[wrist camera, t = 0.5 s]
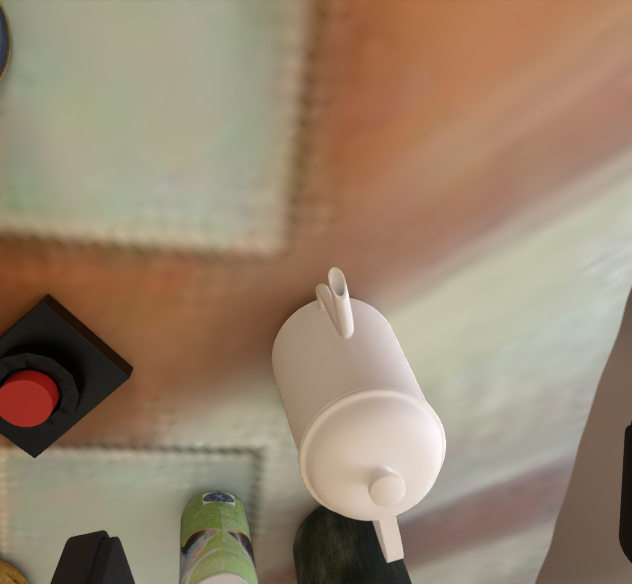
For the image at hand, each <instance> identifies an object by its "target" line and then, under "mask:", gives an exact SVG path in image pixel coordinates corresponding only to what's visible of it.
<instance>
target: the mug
mask: <svg viewBox="0 0 632 584" xmlns="http://www.w3.org/2000/svg"><path fill="white" fill-rule="evenodd" d="M293 554H294V561H295V569H296V577H297V584H412V583H411V580H410V578H409V575H408V572H407V569H406V567H405V564H404V561H403V558H402V559H399V560H395V561H392V562H389V563H387V562H386V560H385V557H384V555H383V552H382V549H381V546H380V543H379V540H378V537H377V534H376V531H375V528H374V524H373V521H364V520H357V519H352V518H349V517H346V516H343V515H341V514H339V513H337V512H334V511H332V510H330V509H328V508H326V507H325V506H324V507H322V508H320V509H319V510H317V511H316V512H314V513H313V514H312V515H311V516H310V517H309V518H307V520H306V521H305V522H304V523H303V525H302V526H301V528H300V529H299V531H298V533H297V535H296V538H295V541H294V546H293Z"/></svg>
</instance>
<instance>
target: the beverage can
mask: <svg viewBox="0 0 632 584" xmlns="http://www.w3.org/2000/svg"><path fill="white" fill-rule="evenodd" d="M179 584H258V579H257V573H256V567H255V561H254V555H253V550H252V544H251V538H250V532H249V526H248V521H247V515H246V510H245V507H244V505H243V503H242V502H241V501H240V499H239V498H237V497H236V496H235V495H233V494H231V493H229V492H226V491H219V490H216V491H208V492H205V493H202V494H200V495H198V496H197V497H195V498H194V499H193V500H191V501H190V502H189V503H188V505H187V506H186V508H185V509H184V511H183V513H182V517H181V532H180V574H179Z"/></svg>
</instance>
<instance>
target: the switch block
mask: <svg viewBox="0 0 632 584" xmlns="http://www.w3.org/2000/svg"><path fill="white" fill-rule="evenodd" d="M22 370H37V371H40V372H43V373H45V374H47V375H48V376H50V377H51V378H52V379H53V380H54V381H55V383H56V385H57V387H58V390H59V399H58V402H57V404H56V406H55V407H54V409H53V411H52V413H51V414H50V416H49V417H48V418H47V419H46V420H45V421H44V422H43V423H41V424H39V425H36V426H32V427H20V426H16V425H13V424H11V423H9V422H7V421H6V420H5V419H3V418H2V417H1V415H0V433H1V434H2V435H4V436H5V437H6V438H8V439H9V440H10V441H12V442H13V443H15V444H16V445H17V446H19V447H20V448H21V449H23V450H24V451H25V452H27V453H28V454H29V455H31V456H32V457H33V458H36V457H37V456H38V455H40V454H41V453H42V452H43V451H44V450H45V449H47V448H48V447H49V446H50V445H51V444H52V443H54V442H55V441H56V440H57V439H58V438H59V437H61V436H62V435H63V434H64V433H65V432H66V431H68V430H69V429H70V428H71V427H72V426H73V425H75V424H76V423H77V422H78V421H79V420H80V419H82V418H83V417H84V416H85V415H86V414H87V413H89V412H90V411H91V410H92V409H93V408H94V407H96V406H97V405H98V404H99V403H100V402H102V401H103V400H104V399H105V398H106V397H107V396H109V395H110V394H111V393H112V392H113V391H114V390H116V389H117V388H118V387H119V386H120V385H121V384H123V383H124V382H125V381H126V380H127V379H128V378H130V375H131V373H132V370H133V367H132V366H130V365H129V364H128V363H127V362H126V361H125V360H124V359H122V358H121V357H120V356H119V355H118V354H117V353H116V352H114V351H113V350H112V349H111V348H110V347H109V346H108V345H106V344H105V343H104V342H103V341H102V340H101V339H100V338H98V337H97V336H96V335H95V334H94V333H93V332H92V331H90V330H89V329H88V328H87V327H86V326H85V325H84V324H82V323H81V322H80V321H79V320H78V319H77V318H76V317H74V316H73V315H72V314H71V313H70V312H69V311H68V310H66V309H65V308H64V307H63V306H62V305H61V304H60V303H58V302H57V301H56V300H55V299H54V298H53V297H52V296H50V295H49V294H48V295H47V296H45V297H44V298H43V299H42V300H41V301H40V302H39V303H38V304H37V305H35V306H34V307H33V308H32V309H31V310H30V311H29V312H28V313H26V314H25V315H24V316H23V317H22V318H21V319H20V320H19V321H18V322H16V323H15V324H14V325H13V326H12V327H11V328H10V329H9V330H8V331H6V332H5V333H4V334H3V335H2V336H1V337H0V388H1V387H2V386H3V384H4V383H5V382H6V381H7V379H8V378H9V377H10V376H11V375H13V374H14V373H16V372H19V371H22Z"/></svg>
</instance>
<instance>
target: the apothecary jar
mask: <svg viewBox="0 0 632 584" xmlns="http://www.w3.org/2000/svg"><path fill="white" fill-rule="evenodd" d="M11 45H12V40H11V33H10V26H9V22H8V18H7V15H6V12H5V10H4V7H3V5H2V3H1V1H0V81H1V79H2V77H3V76H4V74H5V72H6V70H7V67H8V64H9V59H10V54H11Z"/></svg>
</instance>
